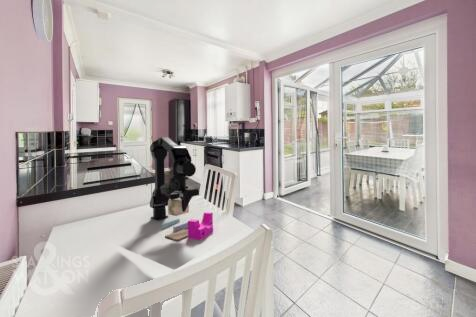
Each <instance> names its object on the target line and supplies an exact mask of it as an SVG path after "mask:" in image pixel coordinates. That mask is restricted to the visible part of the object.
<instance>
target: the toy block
mask: <svg viewBox="0 0 476 317" xmlns="http://www.w3.org/2000/svg"><path fill="white" fill-rule="evenodd" d="M213 215H214V214H213V212H209V211H205V212H203V215H202V220H201V222H200V220H199V219H193V218H192V219H189V220H187V222H188V228H187V230H188V237H187V238H188V239H192V240H198V241H202V240H203V239H205V238H206V237H208V236H210V234H212V233H213V231H214V230H213V229H214V225H213V224H214V222H213V219H214V218H213Z"/></svg>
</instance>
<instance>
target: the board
mask: <svg viewBox="0 0 476 317" xmlns="http://www.w3.org/2000/svg"><path fill="white" fill-rule="evenodd" d="M164 237H165V238H167V239H170V240H173V241H175V242H179V241H182V240H184V239H186V238H188V229H186V228H185V229H182V230H179V231H176V232H172V233H169V234H166V235H165V236H164Z"/></svg>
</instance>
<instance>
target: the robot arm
mask: <svg viewBox="0 0 476 317" xmlns="http://www.w3.org/2000/svg"><path fill="white" fill-rule="evenodd" d="M149 151H150V155H151V157H152V158H153V160H154V176H155V177H154V179H155V180H154V182H155V188H154V189H153V192H151V198H150V201H149V207H150V208H151V209H152V212H153V213H152V214H153V216H150V219H153V220H156V221H157V220H162V219H166V218H168V217H169V216H168V215H167V210H166V207H168V200H172V199H177V198H180V199H181V200H182V210H183V212H184V211H185V210H186V208H187V206H188V204H189V203H190V201H191V200H192V198H193V197H197V196H199V195H200V190H199V189H198V188H196V187H190V188H189V186H188V185H187V180H189V178H190V177H193V176H194V175H195V173H196V168H197V167H196V165H195V164H194V163H193V162H192V161H193V160H192V156H191V154H190V152H189V150H188V148H187V146H184V145H179V144H177V143H176V142H174V141H173V140H172V139H171V138H170V137H167V136H159V137H158V139H156V140H154V141H153V142H152V143H151V145H150V146H149ZM166 157H169V158H170V160H171V163H170V165H171V171H172V172H171V174H172V176H171V177H170V178H169V181H168V182H166V181H165V178H166V177H165V159H166ZM180 194H182V195H181V196H180Z"/></svg>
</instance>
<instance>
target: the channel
mask: <svg viewBox="0 0 476 317" xmlns="http://www.w3.org/2000/svg"><path fill="white" fill-rule="evenodd" d="M180 221H181V218H174V219H171V220H169V221H168V220H167V221H165V222H162V223H161V226H160V227H161V229H166V228H168V227H171V226H172V227H173V228H172V231H173V232H172V233H174V232H176V231H179V230H182V229H185V230H186V229H188V221H185V222H182V223H180ZM177 223H179V224H177ZM175 224H177V225H175ZM173 225H174V226H173Z"/></svg>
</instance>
